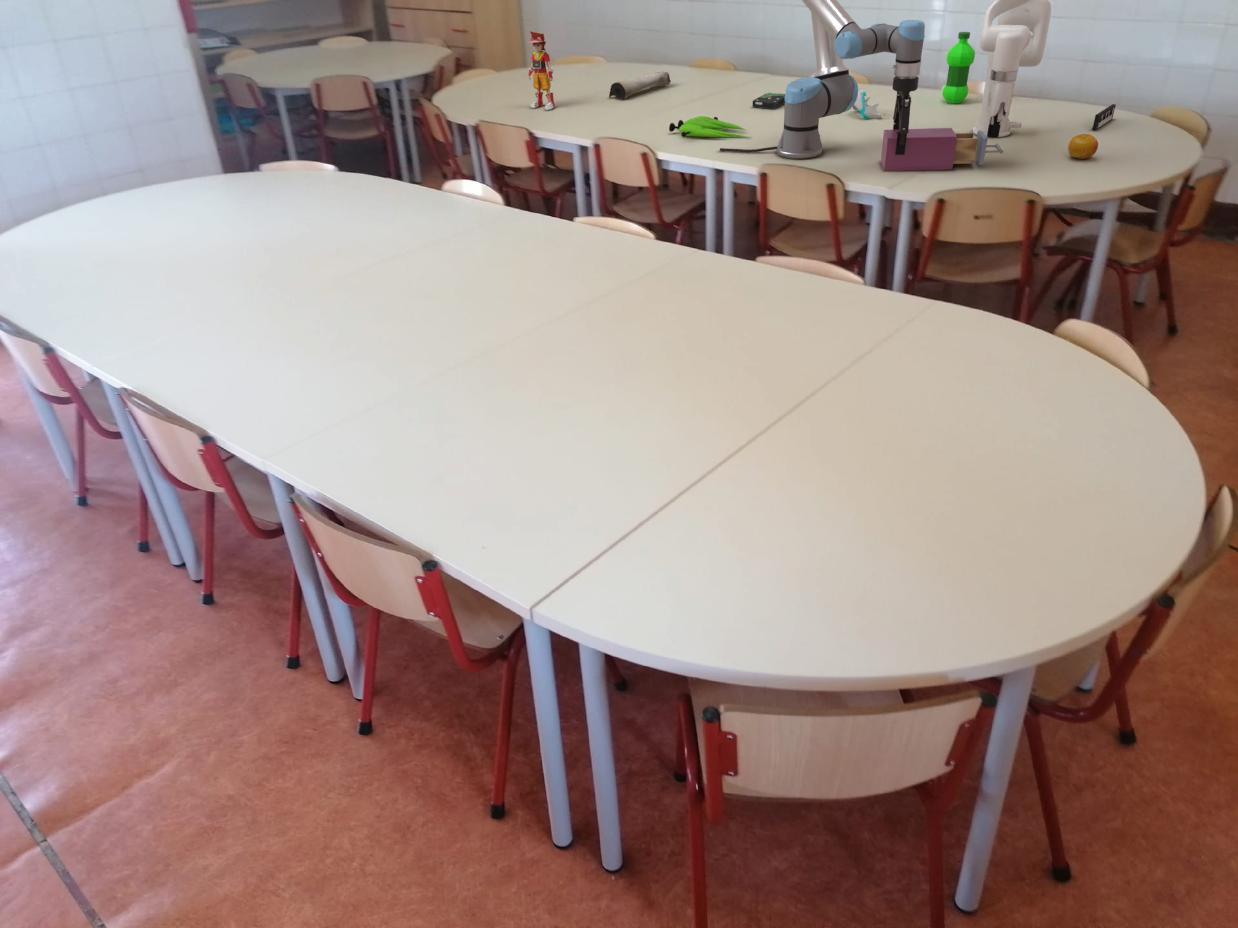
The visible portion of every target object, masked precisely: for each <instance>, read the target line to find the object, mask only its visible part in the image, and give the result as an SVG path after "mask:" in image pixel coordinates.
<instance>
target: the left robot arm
mask: <svg viewBox="0 0 1238 928" xmlns="http://www.w3.org/2000/svg"><path fill="white" fill-rule="evenodd" d="M801 1H802V2H803V4H804V5H805V6H806V7H807V9H808V10H809V11H810V15H811V22H812V32H813V42H814V51H815V58H816V68H817V70H816V72H815V73H814V75H813V77H805V78H803V77H802V78H798V79H795V80H791V82H789V83H788V84H787V86H786V87H785V93H784V94H785V104H784V111H783V113H784V115H783V129H782V133H781V136H780V139H779V141H778V144H777V146H769V147H762V148H755V149H743V148H723V147H720V148H719V152H735V153H759V152H765V151H773V150H774V151H775V150H776V154H777V155H778V156H779V157H782V158H785V159H790V160H791V159H792V160H806V159H813V158H817V157H819V156H821V155H822V154H823V144H822V140H821V134H820V131H819V123H820V119H823V118H826V117H830V116H834V115H841V114H843V113H846V112H848V111H850V110H851V109H853V105H854V103H855V102H856V99H857V96H858V89H859V86H858V82H857V80H856V79H855V78H854V77H853V76H852V75H850V71H849V70H850V69H849V68H848V67H847V66H846V65H845V64H844V60H851V59H857V58H861V57H864V56H869V55H877V54H880V53H890V54H895V64H893V65H892V68H893V69H894V71H893V75H894V77H893V78H892V79H893V80H892V87H891V88H892V90H893V91H895V92H896V97H895V104H894V110H893V117H892V120H893V121H892V122H893V126H892V130H896V129H899V132H896V134H898V135H897V144H896V152H895V155H904V153H905V145H906V137H907V133H908V132H909V129H910V117H911V116H910V115H911V105H912V96H911V95H910V93H911V92H915V91H917V90H918V87H919V80H920V78H919V76H920V74H921V64H922V53H923V47H924V41H925V37H926V35H925V31H926V30H925V28H926V24H925V22H924V21H922V20H921V19H906V20H901V21H900V23H899V26H898V25H893V24H888V23H874V24H872V25H871V26H870V27H866V28H861V27H860V26H859V24H857V22H856V21H855V20H854V19H853V18H852V17H851V15H850V14H849V12H847V11H846V9H845V8H844V7H843V6H842V5H841V3H840V2H839V1H838V0H801Z"/></svg>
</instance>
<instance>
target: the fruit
mask: <svg viewBox="0 0 1238 928" xmlns="http://www.w3.org/2000/svg"><path fill="white" fill-rule="evenodd" d="M1098 148H1099V143H1098V139H1097V138H1096V137H1095V136H1093V135H1092V134H1090V133H1089V134H1088V133H1082V134H1077V135H1074V136H1073V137H1072V138H1071V139H1070V141H1069V142H1068V145H1067V152H1068V154H1069V155H1070V156H1071V157H1072V158H1074V159H1080V160H1081V159H1083V160H1084V159H1089V158H1091V157H1092V156H1094V154H1095V153H1096V152H1097V151H1098Z"/></svg>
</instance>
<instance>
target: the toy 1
mask: <svg viewBox="0 0 1238 928" xmlns="http://www.w3.org/2000/svg"><path fill="white" fill-rule="evenodd" d="M529 33H530V35H531V36H528V37H527V38H528V39H529V40H528V41H527V43H529V44H530V43H531V44H532V48H533V50H534V51H533V52H532V55H531V58H530V59H531V63H530V66H528V74H527V75H528V76H527V77H528V79H529V80H531V75H532V74H533V84H532V85H533V86H532V87H533V88H534V89H535V90H536V92H534V95H535V97H536V100H535V101H533V102H531V105H530V108H531V109H535V108H538V107H542V106H544V101H543V100H544V99H543V95H544V92H546V94H545V97H546V99H547V103H546V104H545V106H544V110H546V111H549V110H553V109H554V107H555V106H556V105H555V99H554V92H551V91H550V90H551V86H552V84H551V82H552V81H553V80H554V77H553V73H554V71H555V70H554V69H552V68H551V63H550V61H551V59H550V58H551V57H550V54H549V53H548V52H547V50H546V48H545V46H546V44H547V41H545V35H544V33H543V32H542V33H539V32H535V31H529Z"/></svg>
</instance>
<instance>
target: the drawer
mask: <svg viewBox="0 0 1238 928" xmlns="http://www.w3.org/2000/svg"><path fill="white" fill-rule="evenodd" d="M954 133H955V134H956V136H957V141H956V148H955V155H954V161H953V165H955V164H958V165H959V164H975V161H976V163H977V164H978V165H979V166H984V162H985V158H986V157H985V155H986V154H994V153H995V154H997V153H999V154H1001V155H1002V154H1003V153H1004V149H1003V148H1002V147H1001V146H1000V144H999V143H995V144H988V137H986V136H985V134H984V133H983V132H982V131H978V133H977V135H976V137H974V136H975V134H974V133H973V132H954ZM987 148H995V149H992V150H991V149H990V150H989V149H988V150H987Z"/></svg>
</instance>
